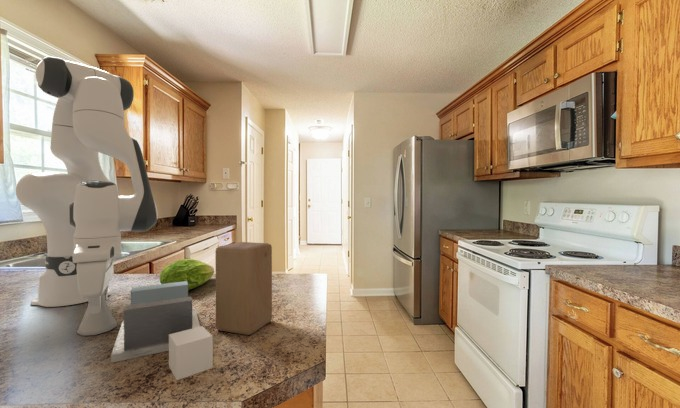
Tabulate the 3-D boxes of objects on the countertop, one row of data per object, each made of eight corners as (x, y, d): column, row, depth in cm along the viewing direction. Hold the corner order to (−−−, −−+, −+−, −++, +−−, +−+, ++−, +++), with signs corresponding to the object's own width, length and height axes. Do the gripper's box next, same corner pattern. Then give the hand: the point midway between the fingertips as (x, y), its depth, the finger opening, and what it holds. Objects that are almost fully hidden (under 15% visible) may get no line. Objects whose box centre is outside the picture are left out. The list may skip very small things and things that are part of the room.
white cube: (202, 356, 61) (202, 325, 61) (212, 368, 56) (212, 335, 56) (168, 366, 57) (168, 334, 57) (176, 380, 52) (176, 345, 52)
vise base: (122, 327, 74) (122, 288, 74) (195, 314, 82) (195, 279, 82) (110, 362, 58) (110, 313, 58) (202, 343, 66) (202, 299, 66)
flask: (95, 338, 69) (94, 293, 68) (69, 335, 70) (68, 291, 70) (123, 325, 76) (123, 285, 76) (99, 323, 77) (99, 283, 77)
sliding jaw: (132, 319, 75) (132, 287, 75) (187, 310, 81) (186, 281, 81) (130, 324, 72) (130, 291, 71) (188, 315, 78) (187, 284, 77)
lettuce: (230, 265, 122) (206, 246, 123) (196, 277, 97) (166, 253, 99) (212, 289, 122) (189, 270, 123) (174, 307, 97) (144, 282, 99)
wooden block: (273, 320, 78) (273, 242, 78) (249, 337, 69) (249, 248, 69) (240, 316, 82) (240, 241, 81) (214, 331, 72) (213, 246, 72)
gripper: (90, 244, 80) (91, 297, 80) (70, 256, 62) (71, 323, 63) (119, 242, 83) (120, 293, 83) (108, 253, 66) (109, 317, 66)
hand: (99, 306), depth 73 cm, fingers open, 8 cm apart
